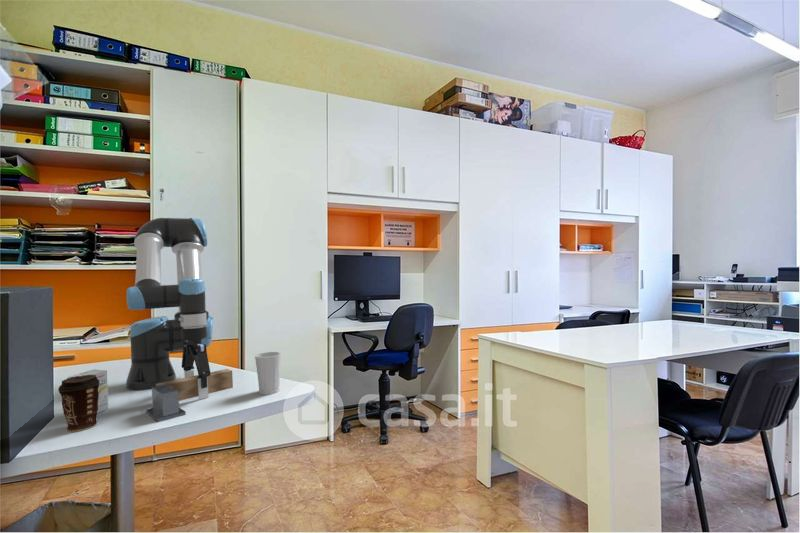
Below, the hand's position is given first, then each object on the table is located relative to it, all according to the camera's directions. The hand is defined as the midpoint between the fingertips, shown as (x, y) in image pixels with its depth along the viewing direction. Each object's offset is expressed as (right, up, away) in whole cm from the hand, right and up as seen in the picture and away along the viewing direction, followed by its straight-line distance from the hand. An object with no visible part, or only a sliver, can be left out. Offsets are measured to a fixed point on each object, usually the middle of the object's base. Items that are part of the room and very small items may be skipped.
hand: (196, 394), depth 132 cm
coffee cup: (-18, -1, -24) cm, 30 cm away
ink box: (-24, -2, -14) cm, 28 cm away
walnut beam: (0, 0, 0) cm, 0 cm away
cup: (+23, 0, +1) cm, 23 cm away
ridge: (-1, 0, -16) cm, 16 cm away
